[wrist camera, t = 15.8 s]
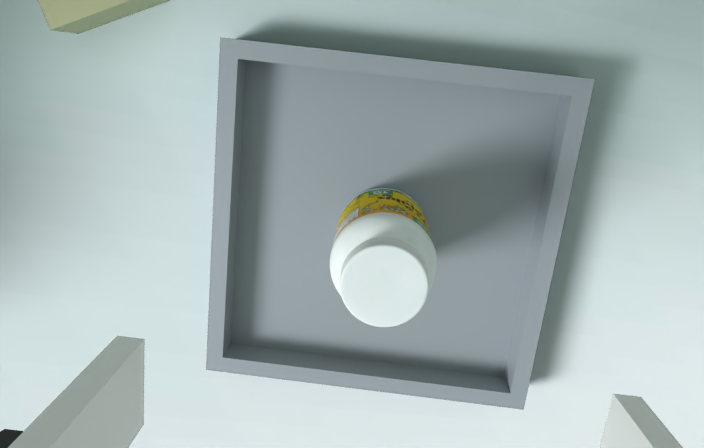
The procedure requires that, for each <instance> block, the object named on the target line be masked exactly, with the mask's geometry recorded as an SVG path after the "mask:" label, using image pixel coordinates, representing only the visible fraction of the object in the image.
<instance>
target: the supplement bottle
mask: <svg viewBox="0 0 704 448" xmlns="http://www.w3.org/2000/svg"><path fill="white" fill-rule="evenodd" d="M330 273H331V278H332V281H333V283H334V285H335V288H336V289H337V291H338V293H339V294H340V295H341V297H342V300H343V302H344V304H345V306H346V307H347V309H348V310H349V311H350V312H351V314H352V315H354V316H355V317H356V318H357V319H359V320H360V321H362V322H364V323H366V324H368V325H372V326H376V327H393V326H397V325H400V324H403V323H405V322H407V321H408V320H410V319H412V318H413V317H414V316H415V315H416V314H417V313H418V312H419V311H420V310H421V308H422V307H423V305H424V303H425V302H426V298H427V295H428V293H429V291H430V290H431V288H432V286H433V284H434V281H435V278H436V273H437V254H436V250H435V247H434V244H433V241H432V238H431V235H430V231H429V228H428V226H427V222H426V219H425V217H424V214H423V212H422V210H421V208H420V207H419V205H418V204H417V203H416V202H415V201H414V200H413V199H412V198H411V197H410V196H408V195H407V194H405V193H403V192H401V191H399V190H395V189H389V188H376V189H370V190H367V191H364V192H362V193H360V194H358V195H357V196H355V197H354V198H353V199H352V200H351V201H350V202H349V203H348V204H347V205H346V207H345V208H344V210H343V212H342V214H341V217H340V220H339V223H338V226H337V231H336V235H335V238H334V242H333V246H332V250H331V255H330Z"/></svg>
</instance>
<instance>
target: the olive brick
mask: <svg viewBox="0 0 704 448" xmlns="http://www.w3.org/2000/svg"><path fill="white" fill-rule="evenodd" d="M166 1H169V0H38V2H39V4H40V6H41V9H42V11H43V13H44V16H45V18H46V20H47V23H48V25H49V27H50V30H55V31H62V32H70V33H77V34H79V33H82V32H84V31H87V30H90V29H92V28H95V27H98V26H101V25H103V24H106V23H109V22H112V21H114V20H117V19H120V18H123V17H125V16H128V15H131V14H134V13H136V12H139V11H142V10H144V9H147V8H150V7H153V6H155V5H158V4H161V3H164V2H166Z"/></svg>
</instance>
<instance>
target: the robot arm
mask: <svg viewBox="0 0 704 448" xmlns="http://www.w3.org/2000/svg"><path fill="white" fill-rule="evenodd" d="M143 424H144V339H139V338H131V337H122V336H117V337H116V338H115V339H114V340H113V341H112V342H111V343H110V344H109V345H108V346H107V347H106V348H105V349H104V350H103V351H102V352H101V353H100V354H99V355H98V356H97V357H96V358H95V359H94V360H93V361H92V362H91V363H90V364H89V365H88V366H87V367H86V368H85V369H84V370H83V371H82V372H81V373H80V374H79V375H78V376H77V377H76V378H75V380H74V381H73V382H72V383H71V384H70V385H69V386H68V387H67V388H66V389H65V390H64V391H63V392H62V393H61V394H60V395H59V396H58V397H57V398H56V399H55V400H54V401H53V402H52V403H51V404H50V405H49V406H48V407H47V408H46V409H45V410H44V411H43V412H42V413H41V414H40V415H39V416H38V417H37V418H36V419H35V420H34V421H33V422H32V423H31V424H30V425H29V426H28V427H27V428H26V429H25V430H24V431H17V430H8V429H4V430H2V431H1V432H0V448H128V447H129V446H130V444H131V443H132V441H133V440H134V438H135V437H136V435H137V434H138V432H139V431H140V429H141V428H142V426H143ZM599 448H683V447H682V446H681V445H680V444H679V443H678V441H677V440H676V439H675V438H674V436H673V435H672V434H671V433H670V432H669V430H668V429H667V428H666V427H665V426H664V424H663V423H662V422H661V421H660V419H659V418H658V417H657V416H656V415H655V413H654V412H653V411H652V410H651V409H650V407H649V406H648V405H647V404H646V402H645V401H644V400H643V399H642V398H641V397H637V396H628V395H620V394H613V397H612V401H611V405H610V408H609V412H608V416H607V420H606V424H605V427H604V431H603V435H602V439H601V443H600V446H599Z"/></svg>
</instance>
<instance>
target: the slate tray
mask: <svg viewBox="0 0 704 448" xmlns="http://www.w3.org/2000/svg"><path fill="white" fill-rule="evenodd" d="M594 81H595V79H591V78H582V77H573V76H564V75H555V74H546V73H537V72H528V71H519V70H510V69H501V68H492V67H483V66H474V65H465V64H456V63H447V62H437V61H428V60H419V59H410V58H401V57H392V56H383V55H374V54H365V53H356V52H347V51H338V50H329V49H320V48H311V47H302V46H293V45H284V44H275V43H266V42H257V41H248V40H239V39H230V38H221V37H220V57H219V80H218V104H217V127H216V151H215V174H214V198H213V221H212V245H211V268H210V292H209V315H208V339H207V362H206V370H212V371H220V372H228V373H236V374H244V375H252V376H260V377H268V378H276V379H284V380H292V381H300V382H308V383H316V384H324V385H332V386H340V387H348V388H356V389H364V390H372V391H380V392H388V393H396V394H404V395H412V396H420V397H428V398H436V399H444V400H452V401H459V402H467V403H475V404H483V405H491V406H499V407H507V408H515V409H523V410H524V405H525V400H526V396H527V391H528V387H529V382H530V377H531V373H532V368H533V363H534V359H535V354H536V350H537V345H538V340H539V336H540V331H541V326H542V322H543V317H544V313H545V308H546V303H547V299H548V294H549V289H550V285H551V280H552V276H553V271H554V266H555V262H556V257H557V252H558V248H559V243H560V239H561V234H562V229H563V225H564V220H565V216H566V211H567V206H568V202H569V197H570V192H571V188H572V183H573V179H574V174H575V169H576V165H577V160H578V155H579V151H580V146H581V142H582V137H583V132H584V128H585V123H586V118H587V114H588V109H589V105H590V100H591V95H592V91H593V86H594ZM376 188H389V189H395V190H399V191H401V192H403V193H405V194H407V195H408V196H410V197H411V198H412V199H413V200H414V201H415V202H416V203H417V204H418V205H419V207H420V208H421V210H422V212H423V214H424V217H425V219H426V222H427V226H428V228H429V231H430V235H431V238H432V241H433V244H434V247H435V250H436V254H437V273H436V278H435V281H434V284H433V286H432V288H431V290H430V291H429V293H428V295H427V298H426V302H425V303H424V305H423V307H422V308H421V310H420V311H419V312H418V313H417V314H416V315H415V316H414V317H413V318H412V319H410V320H408V321H407V322H405V323H403V324H400V325H397V326H393V327H376V326H372V325H368V324H366V323H364V322H362V321H360V320H359V319H357V318H356V317H355V316H354V315H352V314H351V312H350V311H349V310H348V309H347V307H346V306H345V304H344V302H343V300H342V297H341V295H340V294H339V293H338V291H337V289H336V288H335V285H334V283H333V281H332V278H331V273H330V255H331V250H332V246H333V242H334V238H335V235H336V231H337V226H338V223H339V220H340V217H341V214H342V212H343V210H344V208H345V207H346V205H347V204H348V203H349V202H350V201H351V200H352V199H353V198H354V197H355V196H357V195H358V194H360V193H362V192H364V191H367V190H370V189H376Z"/></svg>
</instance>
